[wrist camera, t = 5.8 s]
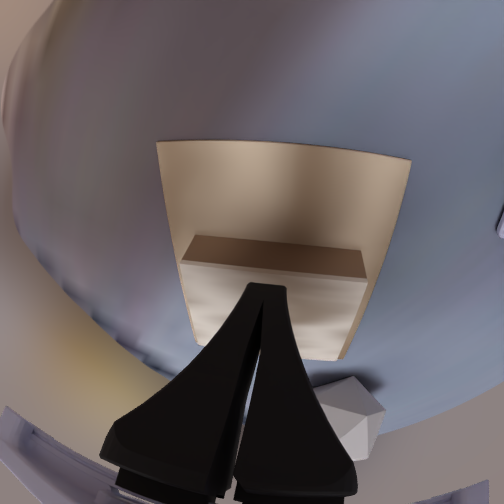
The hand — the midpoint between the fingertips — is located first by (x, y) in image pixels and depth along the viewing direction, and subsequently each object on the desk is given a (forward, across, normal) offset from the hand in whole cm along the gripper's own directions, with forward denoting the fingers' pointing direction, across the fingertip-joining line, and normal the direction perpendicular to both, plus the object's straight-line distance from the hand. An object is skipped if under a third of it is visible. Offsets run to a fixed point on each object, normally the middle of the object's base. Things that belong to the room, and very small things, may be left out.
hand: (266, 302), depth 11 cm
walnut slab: (+4, 0, +1) cm, 4 cm away
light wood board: (+5, 0, +4) cm, 6 cm away
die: (+5, -7, +18) cm, 20 cm away
